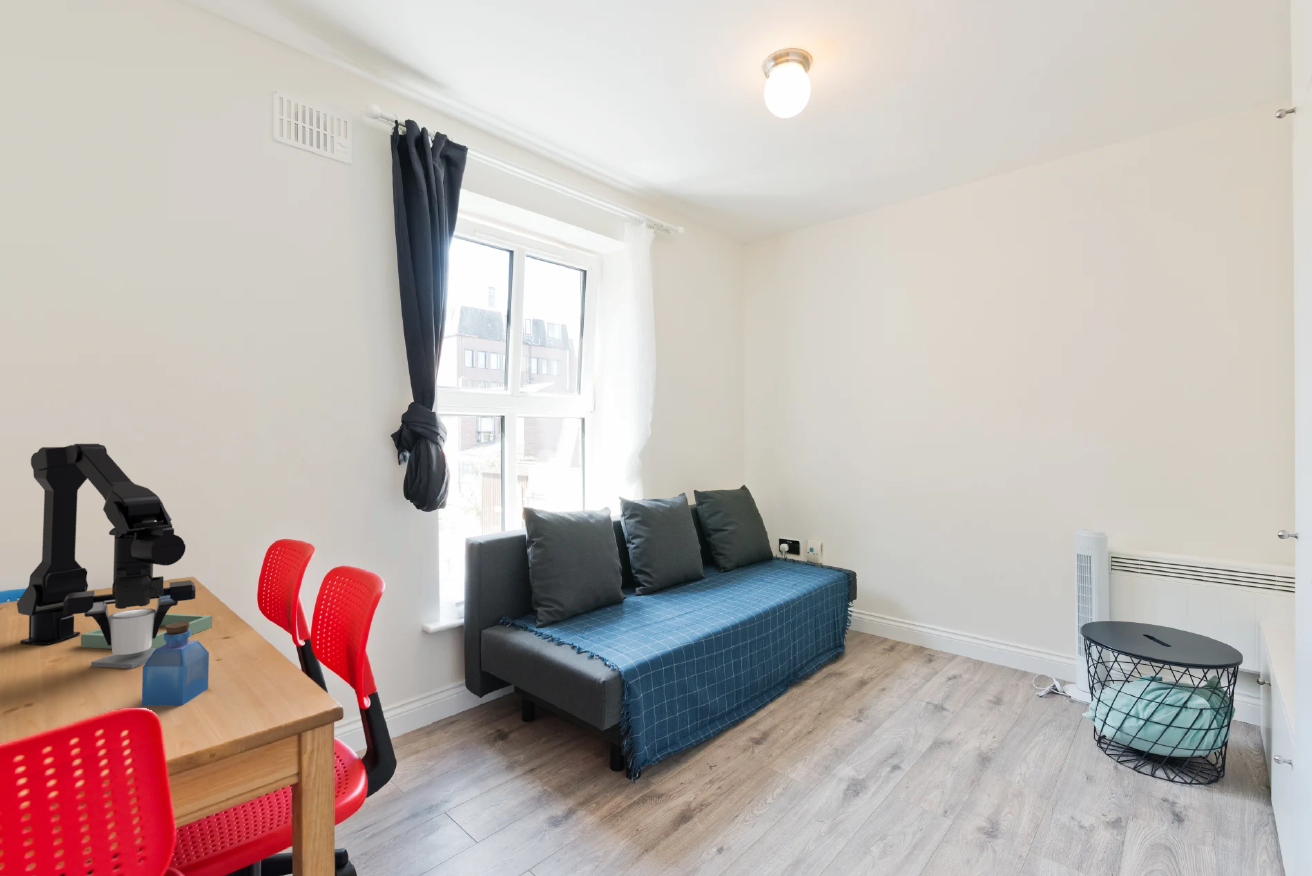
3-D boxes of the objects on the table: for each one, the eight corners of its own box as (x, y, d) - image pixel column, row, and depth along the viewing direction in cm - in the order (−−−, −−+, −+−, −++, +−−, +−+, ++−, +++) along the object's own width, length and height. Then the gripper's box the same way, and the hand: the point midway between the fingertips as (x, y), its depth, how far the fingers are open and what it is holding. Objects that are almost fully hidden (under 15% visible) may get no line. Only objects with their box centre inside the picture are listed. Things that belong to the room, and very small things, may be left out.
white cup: (127, 657, 111) (128, 619, 111) (97, 654, 112) (98, 616, 112) (164, 645, 118) (165, 609, 118) (136, 641, 119) (137, 606, 119)
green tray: (80, 646, 121) (81, 634, 121) (149, 623, 136) (149, 612, 136) (150, 650, 119) (151, 638, 119) (212, 626, 134) (212, 615, 134)
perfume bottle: (169, 689, 103) (171, 619, 103) (208, 688, 103) (209, 619, 103) (141, 705, 97) (143, 630, 96) (182, 705, 97) (184, 630, 97)
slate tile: (91, 666, 111) (91, 662, 111) (132, 650, 119) (132, 646, 119) (131, 668, 111) (131, 664, 111) (169, 653, 119) (170, 648, 119)
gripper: (61, 574, 103) (59, 666, 103) (198, 561, 115) (196, 643, 115) (67, 562, 111) (65, 647, 111) (194, 552, 123) (192, 628, 123)
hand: (131, 641), depth 115 cm, fingers closed on white cup, 6 cm apart
